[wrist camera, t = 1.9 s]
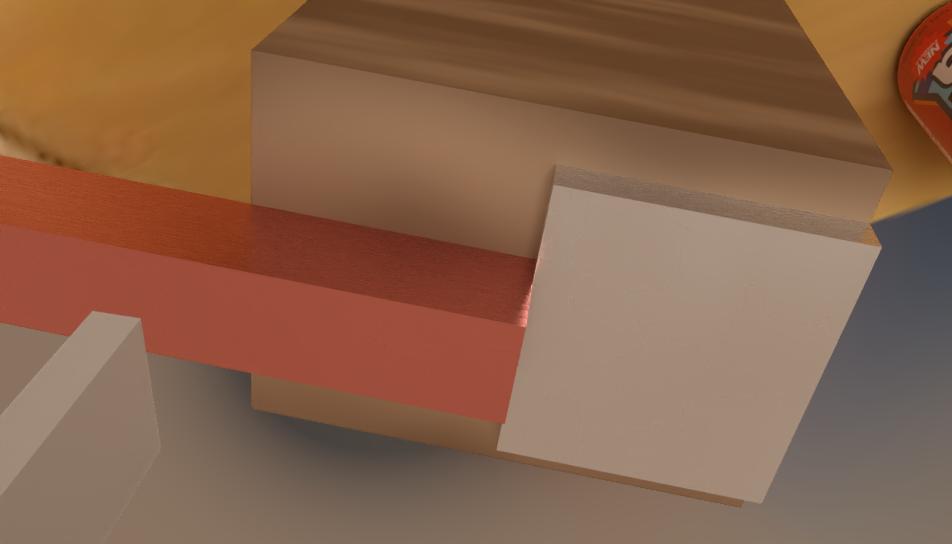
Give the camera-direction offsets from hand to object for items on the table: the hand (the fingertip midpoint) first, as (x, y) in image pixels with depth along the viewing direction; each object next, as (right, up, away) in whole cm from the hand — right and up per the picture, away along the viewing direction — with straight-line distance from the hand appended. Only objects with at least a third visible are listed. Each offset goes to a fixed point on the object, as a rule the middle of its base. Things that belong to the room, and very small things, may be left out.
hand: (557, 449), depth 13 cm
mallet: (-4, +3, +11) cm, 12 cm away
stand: (+4, +18, +36) cm, 41 cm away
